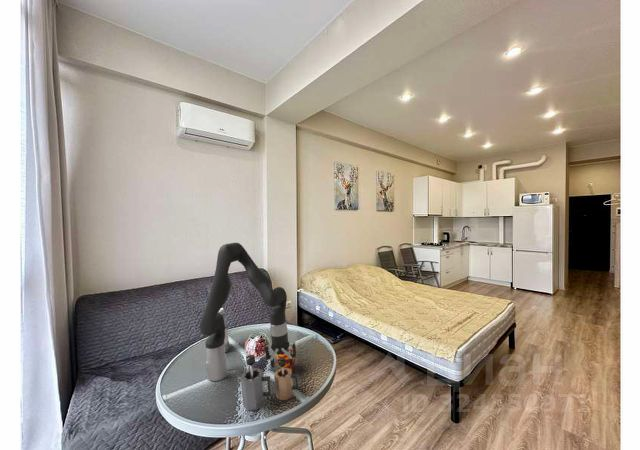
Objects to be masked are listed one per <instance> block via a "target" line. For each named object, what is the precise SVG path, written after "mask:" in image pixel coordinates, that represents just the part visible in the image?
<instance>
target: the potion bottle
mask: <svg viewBox="0 0 640 450" xmlns="http://www.w3.org/2000/svg"><path fill="white" fill-rule="evenodd" d="M288 349H289V350H290V352H291V353H292V354H293V349H292V348H290V347H289V348H288ZM282 357H284V358H285V360H286V365H285V366H283V368H288V369H290V370H291V371H292V372H293V368H292V367H293V366H294V365H295V363H296V357H293V365H292V367H290V362H289V357H288V356H287V355H286V354H285V353H284V354H279V355H277V354H276V363H277V364H278V359H279V358H282ZM277 367H278V368H279V369H281V367H279V366H278V365H277Z"/></svg>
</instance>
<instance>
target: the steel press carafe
mask: <svg viewBox="0 0 640 450" xmlns="http://www.w3.org/2000/svg"><path fill="white" fill-rule="evenodd" d="M253 377H254V379H251V371H250V368H249V369H248V370H246V371H244V372H243V373H242V375H241V377H240V384H241V385H240V386H241V394H242V402H243V404H242V405H243V408H244V409H245V410H247V412H250V411H257V410H259V409H261V408H262V407H263V406H265V404H266V403H265V402H266V400H267V399H266V397H272V393H273V392H272V382H271V375H270V376H269V375H268V376H264V371H263V370H262V369H261V368H259V367H257V368H253ZM265 382H267V391H266V388H265Z"/></svg>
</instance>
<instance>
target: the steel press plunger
mask: <svg viewBox="0 0 640 450" xmlns="http://www.w3.org/2000/svg"><path fill="white" fill-rule="evenodd" d="M245 363H246V364H245V365H247V366H249V369H250V371H251V379H254V377H253V369H254V367H253V365H254V364H255V363H256V356H255V354H250V355H249V354H248V355H247V356H246V357H245Z"/></svg>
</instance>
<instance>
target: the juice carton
mask: <svg viewBox="0 0 640 450" xmlns="http://www.w3.org/2000/svg"><path fill="white" fill-rule="evenodd" d="M218 313H220V314H221V315H222V316H223V318H224V323H225V339H224V343H225V352H226V353H229V350H230V342H229V341H230V340H229V333H228V330H229V329H228V322H227V315H226V312H225V308H223V307H221V309H220V310H219V312H218Z"/></svg>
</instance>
